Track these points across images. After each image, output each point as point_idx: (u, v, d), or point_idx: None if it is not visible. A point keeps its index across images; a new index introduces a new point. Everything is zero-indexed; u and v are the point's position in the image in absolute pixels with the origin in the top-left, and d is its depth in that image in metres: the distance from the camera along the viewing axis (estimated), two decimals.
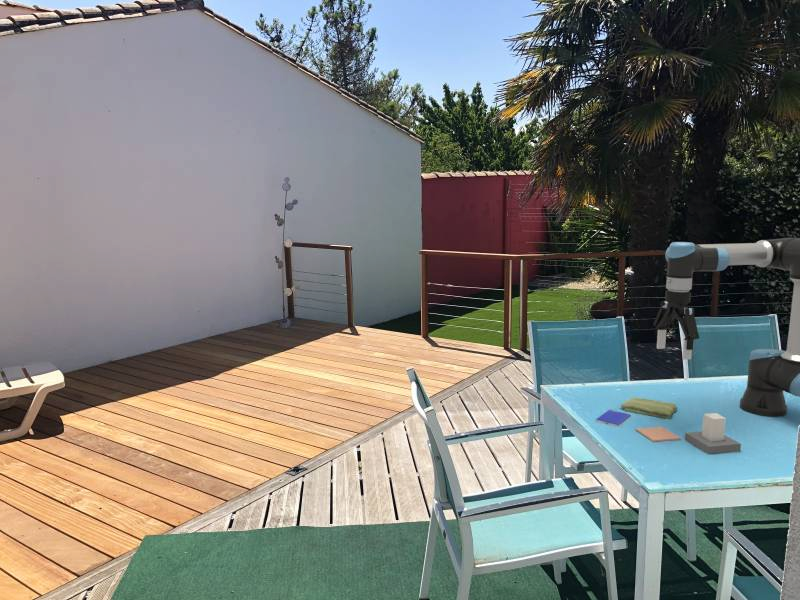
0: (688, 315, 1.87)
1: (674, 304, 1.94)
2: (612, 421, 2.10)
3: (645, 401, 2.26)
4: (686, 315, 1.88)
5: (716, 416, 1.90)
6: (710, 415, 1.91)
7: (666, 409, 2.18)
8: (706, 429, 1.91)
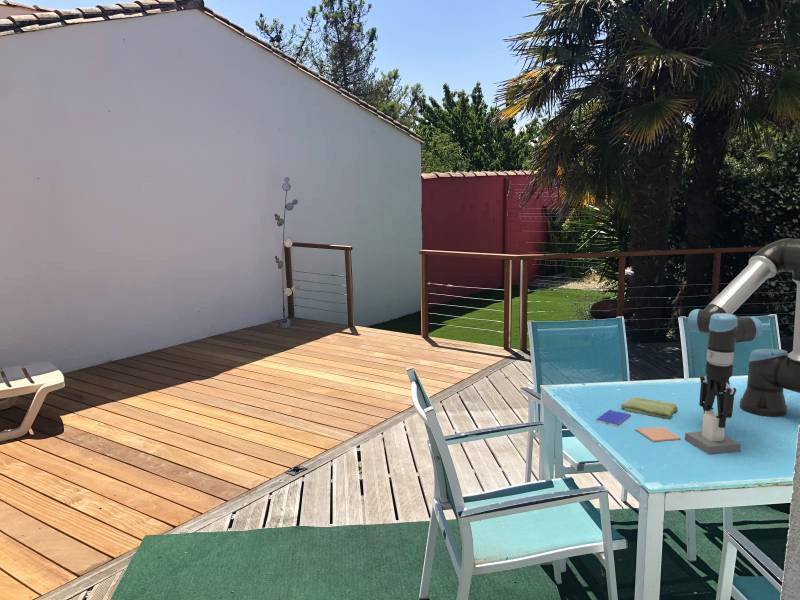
0: (728, 395, 1.83)
1: (715, 377, 1.88)
2: (612, 421, 2.10)
3: (645, 401, 2.26)
4: (726, 394, 1.83)
5: None
6: (710, 415, 1.91)
7: (666, 409, 2.17)
8: (706, 429, 1.91)
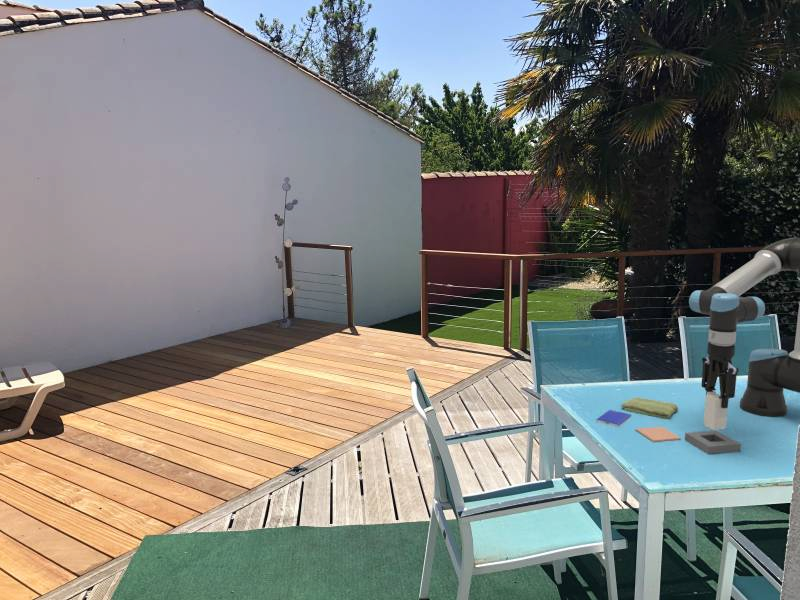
0: (730, 375, 1.82)
1: (717, 357, 1.87)
2: (613, 421, 2.10)
3: (646, 401, 2.26)
4: (728, 374, 1.82)
5: None
6: (712, 396, 1.90)
7: (666, 409, 2.17)
8: (708, 410, 1.90)
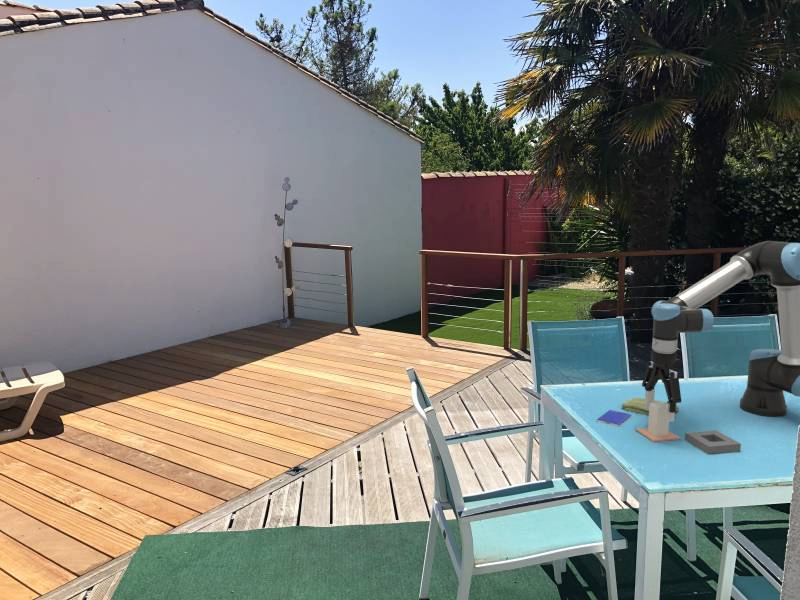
0: (672, 379, 1.90)
1: (660, 364, 1.96)
2: (613, 421, 2.10)
3: None
4: (671, 378, 1.90)
5: (661, 405, 1.98)
6: (656, 404, 1.99)
7: None
8: (652, 417, 1.99)
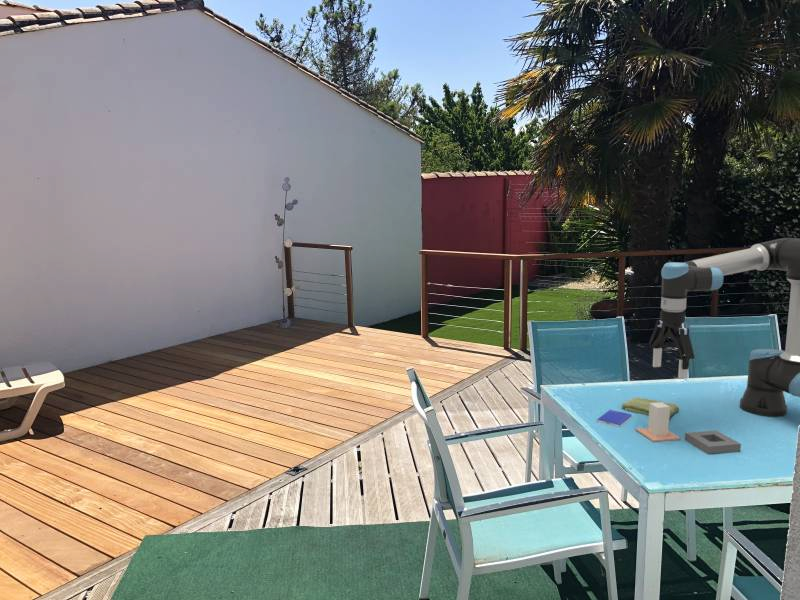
0: (683, 335, 1.89)
1: (669, 324, 1.96)
2: (613, 421, 2.10)
3: (647, 401, 2.26)
4: (681, 335, 1.90)
5: (661, 405, 1.98)
6: (656, 404, 1.99)
7: None
8: (652, 417, 1.99)
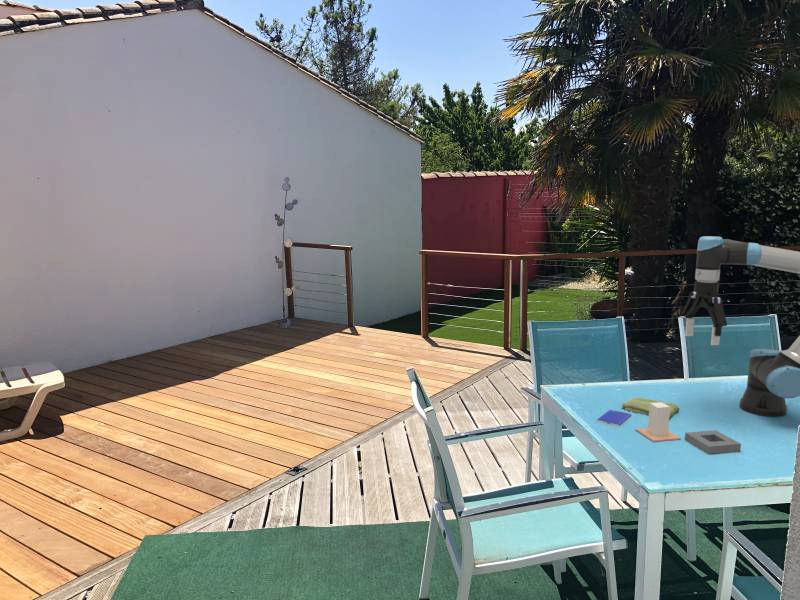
0: (716, 304, 2.02)
1: (703, 294, 2.08)
2: (614, 421, 2.10)
3: (647, 401, 2.26)
4: (715, 304, 2.02)
5: (661, 405, 1.98)
6: (656, 404, 1.99)
7: None
8: (652, 417, 1.99)
